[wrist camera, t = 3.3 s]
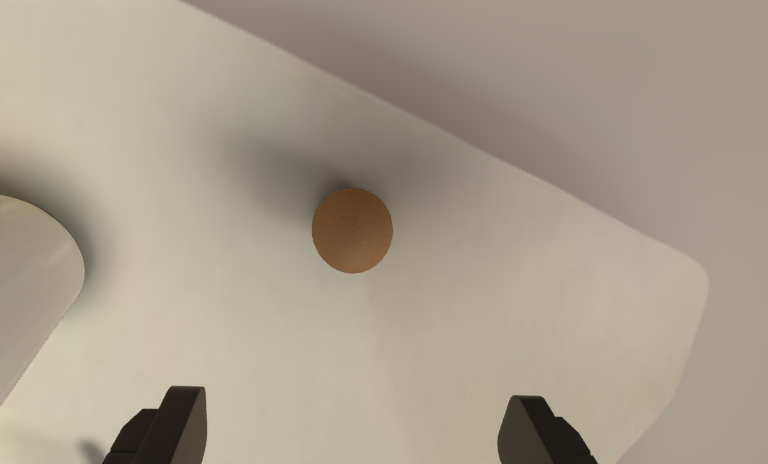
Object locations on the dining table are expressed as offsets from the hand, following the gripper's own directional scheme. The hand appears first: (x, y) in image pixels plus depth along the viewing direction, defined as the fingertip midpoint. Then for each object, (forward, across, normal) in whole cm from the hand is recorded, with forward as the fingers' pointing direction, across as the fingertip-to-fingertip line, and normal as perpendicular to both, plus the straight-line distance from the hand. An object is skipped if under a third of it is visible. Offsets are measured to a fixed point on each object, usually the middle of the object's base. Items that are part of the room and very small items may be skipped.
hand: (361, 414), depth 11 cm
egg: (+16, 0, 0) cm, 16 cm away
